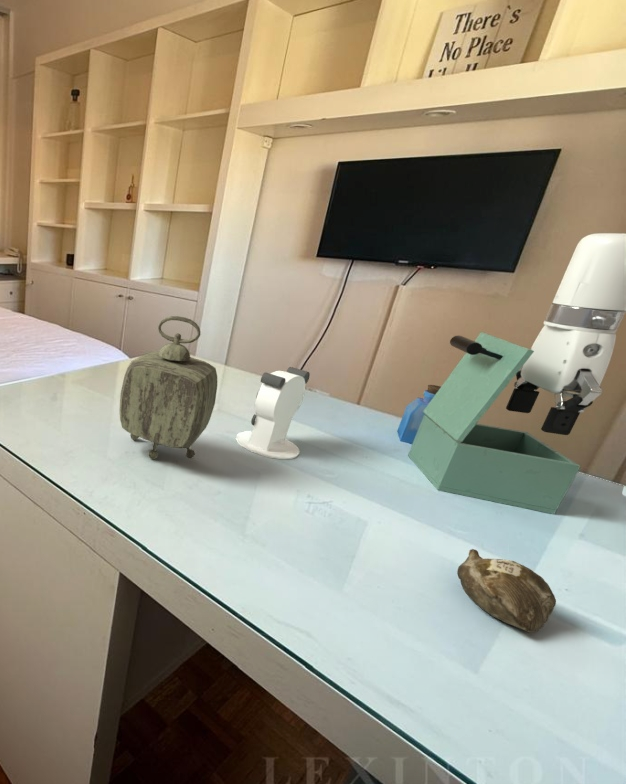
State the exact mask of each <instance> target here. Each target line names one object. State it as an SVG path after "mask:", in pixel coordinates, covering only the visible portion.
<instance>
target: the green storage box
mask: <svg viewBox="0 0 626 784" xmlns="http://www.w3.org/2000/svg"><path fill="white" fill-rule="evenodd" d="M407 457H408V458H409V459H410V460H411V461H412V462H413V463H414V465H415V466H416V467H417V468H418V469H419V470H420V472H421V473H422V474H423V475H424V477H426V479H427V480H428V481H429V482H430V483H431V484H432V485H433V487H435V489H436V490H437V491H441V492H446V493H450V494H455V495H460V496H464V497H465V496H466V497H469V498H475V499H478V500H479V499H480V500H484V501H488V502H489V501H490V502H493V503H499V504H504V505H509V506H512V507H518V508H523V509H528V510H533V511H537V512H541V513H547V514H550V515H551V514H552V515H555V513H556V512H557V510H558V509H559V506H560V505H561V503H562V501H563V500H564V497H565V496H566V495H567V492H568V491H569V488H570V487H571V485H572V484H573V481H574V480H575V478H576V476H577V474H578V473H579V471H580V469H581V467H582V465H580V464H578V463H576V462H575V461H573V460H572V459H571V458H569V457H567V456H565V454H562V453H561V452H559V451H558V450H556V449H554V448H553V447H551V446H550V445H549V444H547V443H545V442H544V441H542V440H540V439H539V438H537V437H535V436H534V435H533V434H531V433H529V432H528V431H523V430H518V429H511V428H505V427H500V426H493V425H487V424H482V423H477V424H476V425H475V426H474V427H473V429H472V430H471V431H470V432H469V434H468V435H467V436H466V437H465V439H464V440H463V441H462V442H459V441H457V440H456V439H454V438H453V437H452V436H451V435H450V434H449V433H447V432H446V431H445V430H444V429H443V428H441V427H440V426H439V425H438V424H437V423H436V422H434V421H433V420H432V419H431V418H430V417H429V416H427V415H424V417H423V419H422V422H421V424H420V427H419V429H418V432H417V434H416V437H415V439H414V441H413V444H411V446H410V448H409V451H408V455H407Z"/></svg>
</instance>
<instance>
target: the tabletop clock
mask: <svg viewBox="0 0 626 784" xmlns="http://www.w3.org/2000/svg"><path fill="white" fill-rule="evenodd" d="M169 321H178V322H183V323H186V324H189V325H192V326H193V327H194V329H195V330H196V332H197V333H196V336H195V337H193V338H187V339H184V338H182V335H181V334H180V333H175V334H174V337H173V336H170V335H168V334H166V333H164V332H163V331H162V326H163V324H165V323H167V322H169ZM157 330H158V333H159V334H160V336H161V337H162V338H164V339H165V340H167V341H169V343H166V344H165V345H164V346H162V347H161V348H160V350H158V351H151V352H147V353H145V354H143V355H140V356H139V357H137V358H135V359H133V360H131V361H130V363H129V365H128V366H127V368H126V371H125V373H124V377H123V381H122V386H121V389H120V396H119V397H120V399H119V420H120V425H121V428H122V429H123V430H124V431H125V432H127V433H129V434H130V439H131V440H133V441H137V440H139V438H141V439H143V440H146V441H148V442H151V443H153V444H152V449H151V450H149V451H148V453H147V457H148V458H149V459H151V460H155V459H157V458H158V452H157V447H158V445H161V446H166V447H169V448H175V449H183V450H184V449H185V450H186V451H185V456H186V458H188V459H192V458H194V457H195V456H196V452H195V450H194V449H192V448H191V447H192V446H193V445H194V443H195V442H197V439H198V438H199V437H200V436H201V435H202V434H203V432H204V431H205V430H206V429H207V427H208V424H209V422H210V421H211V417H212V414H213V412H214V408H215V405H216V400H217V399H216V398H217V391H218V373H217V369H216V367H215V366H213V365H212V364H210V363H209V362H206V361H205V360H202V359H198V358H195V357H192V356H191V354H190V351H189V349H188V348H187V347H186V346H185V345H184V344H190V343H194V342H196V341H198V339H199V338H200V337H201V329H200V326H199V325H198V323H197V322H196V321H194V320H193V319H191V318H187V317H184V316H178V315H172V316H167V317H165V318H163V319H161V320H160V322H159V324H158V325H157Z"/></svg>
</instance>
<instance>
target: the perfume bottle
mask: <svg viewBox="0 0 626 784" xmlns="http://www.w3.org/2000/svg"><path fill="white" fill-rule="evenodd" d="M441 386H442V385H441ZM441 386H440V385H436V384H428V385H427V389H425V390H424V392H423V394H422V396H424V397H423V398H422V397H417V398H415V399H413V401H411V402H410V403H408V404H407V405H406V407H405V410H404V411H403V415H402V418H401V420H400V423H399V425H398V428H397V430H396V432H397V435H398V436H397V437H398V438H399V441H400V442H403V443H407V444H411V445H412V444H413V441H414V439H415V437H416V434H417V432H418V429H419V427H420V424H421V422H422V419H423V417H424V415H426V414H425V413H424V412H423V411H424V410H425V408H426V407H427V405H428V404H429V403H430V401H431V400H432V399H433V397H434V396H435V395H436V393H437V392H438V390H439V389H440V388H441Z"/></svg>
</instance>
